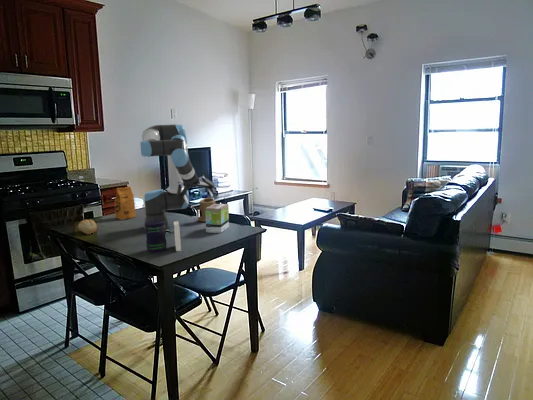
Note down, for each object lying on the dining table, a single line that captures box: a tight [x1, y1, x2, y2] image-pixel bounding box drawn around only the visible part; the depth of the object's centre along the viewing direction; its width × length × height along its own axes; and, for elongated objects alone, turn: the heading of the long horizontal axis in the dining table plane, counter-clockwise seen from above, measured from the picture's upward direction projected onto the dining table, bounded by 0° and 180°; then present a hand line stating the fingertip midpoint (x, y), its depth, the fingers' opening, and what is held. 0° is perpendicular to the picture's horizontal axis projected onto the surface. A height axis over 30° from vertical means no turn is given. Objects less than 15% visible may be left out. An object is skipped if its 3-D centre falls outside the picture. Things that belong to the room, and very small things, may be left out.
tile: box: [173, 220, 182, 252], centre depth 205 cm, size 2×10×13 cm, turn 15°
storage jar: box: [144, 220, 168, 254], centre depth 202 cm, size 10×10×15 cm
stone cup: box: [197, 197, 216, 222], centre depth 266 cm, size 15×12×15 cm
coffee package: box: [114, 185, 137, 220], centre depth 280 cm, size 10×12×22 cm
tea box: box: [205, 203, 230, 234], centre depth 241 cm, size 15×10×15 cm, turn 168°
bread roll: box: [77, 218, 98, 235], centre depth 244 cm, size 10×15×8 cm, turn 45°
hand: (199, 198), depth 217 cm, fingers open, 13 cm apart
